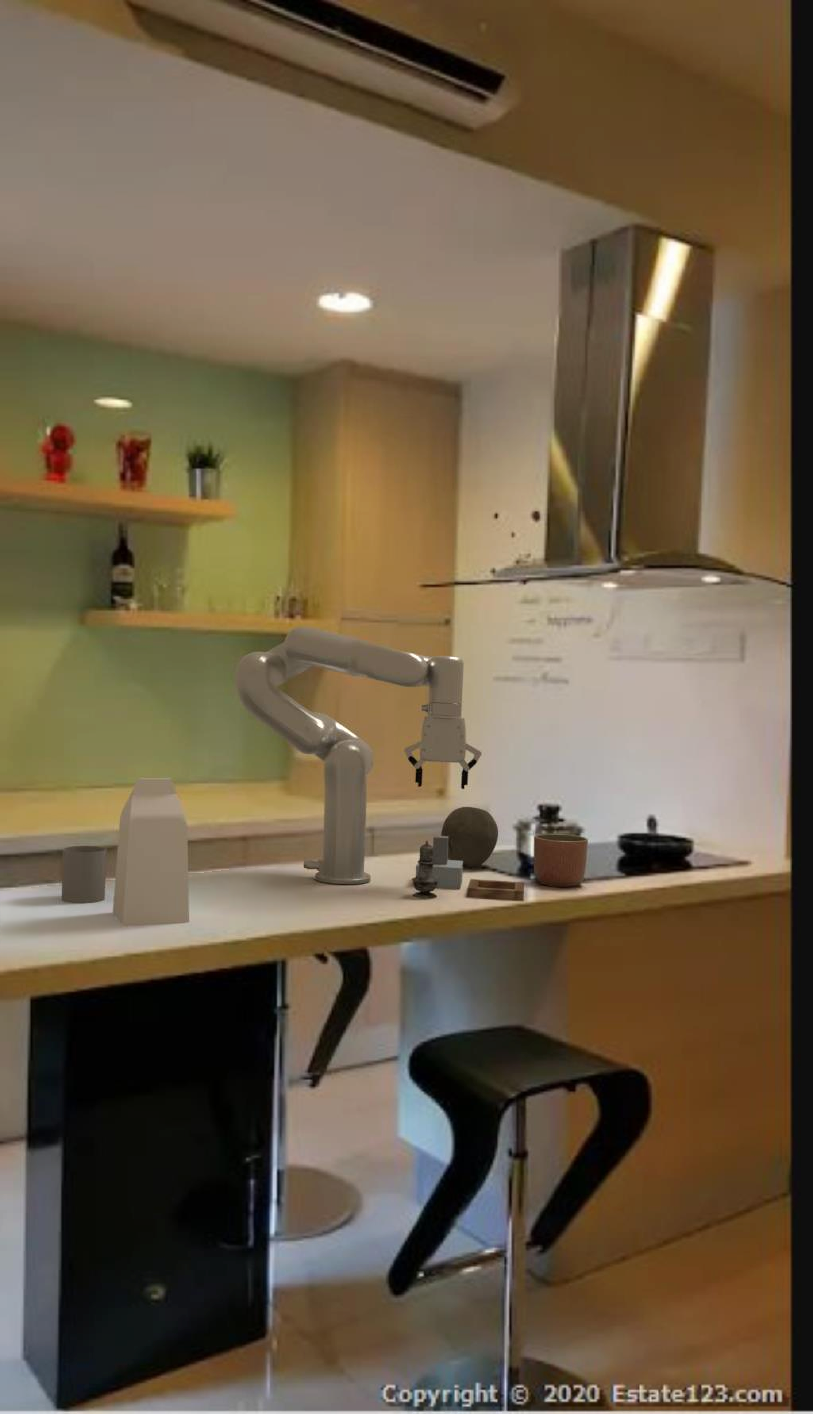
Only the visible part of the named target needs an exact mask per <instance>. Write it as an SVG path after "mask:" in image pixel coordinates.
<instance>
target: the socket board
mask: <svg viewBox="0 0 813 1414" xmlns="http://www.w3.org/2000/svg"><path fill="white" fill-rule="evenodd" d="M466 894H467V895H466V896H467V898H472V899H488V900H491V899H492V900H504V901H505V900H506V901H519V900H523V901H524V900H525V899H524V897H525V895H524V894H525V882H524V881H509V880H506V881H505V880H494V879H493V880H491V879H476V878H474V879H473V878H470V880H469V882H468V885H467V893H466ZM523 901H522V902H523Z"/></svg>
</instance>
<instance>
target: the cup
mask: <svg viewBox="0 0 813 1414" xmlns="http://www.w3.org/2000/svg"><path fill="white" fill-rule="evenodd" d="M106 871H107V848H106V847H103V846H97V845H96V846H95V845H75V846H67V847H64V848H63V849H62V874H61V880H62V881H61V901H62V902H63V903H64V902H65V903H70V904H82V905H83V904H94V903H99V902H100V903H101V902H103V901H105V899H106V878H107V877H106V876H107V875H106V874H107V873H106Z"/></svg>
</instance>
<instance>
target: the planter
mask: <svg viewBox="0 0 813 1414" xmlns="http://www.w3.org/2000/svg"><path fill="white" fill-rule="evenodd" d="M588 841H589V839H588V838H587V837H585V836H580V835H574V834H564V833H540V834H535V835H534V836H533V870H534V877H535V879H536V880H537V881H538V882H539V883H540V884H541V885H545V886H548V887H549V886H550V887H555V888H556V887H557V888H572V887H577V886H579V885H581V884H582V882H583V881H584V878H585V874H586V868H587V867H586V866H587V856H588V843H589V842H588Z"/></svg>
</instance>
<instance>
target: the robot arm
mask: <svg viewBox="0 0 813 1414" xmlns="http://www.w3.org/2000/svg"><path fill="white" fill-rule="evenodd" d="M311 667H315V668H319V669H324V670H326V671H331V672H336V673H340V674H344V675H348V676H352V677H362V678H366V679H370V680H374V681H379V682H383V683H388V684H393V685H395V686H401V687H404V688H417V687H428V702H427V703H426V704H421V712H426V713H427V716H423V722H422V725H421V733H420V741H417V742H415V743H413V744H412V745H409V746H407V747H405V748H404V753H405V755H406V757H407V760H408V762H410V764H411V765H412V766H413V767H414V768H415V778H414V779H415V780H414V781H415V784H416V783H417V787H418V788H420V787H422V786H423V768H422V766H423V764H424V763H425V762H436V763H437V762H438V763H439V762H440V763H458V764H459V765H460V766H461V768H462V771H461V777H460V778H461V783H460V789H462V790H465V786H468V782H469V781H468V780H469V771H470V770H471V769H472V768H473V767H475V765H476V764H477V763H478V761H479V760H480V757H481V756H482V751H481V750H479V749H478V748H475V747H473V746H471V745H470V744H468V743H467V730H466V721H465V718H464V717H462V709H463V708H462V706H463V705H462V704H463V688H464V686H463V685H464V661H463V659H462V657H460V656H453V655H436V656H435V655H434V656H427V655H423V654H418V653H414V652H407V651H402V650H399V649H394V648H390V647H385V646H381V645H377V644H373V643H370V642H367V641H365V640H364V639H360V638H358V637H354V636H348V635H346V634H345V635H344V634H339V633H335V632H330V631H327V630H322V629H318V628H314V627H313V628H312V627H309V626H296V627H294V628H292V629H291V630H290V631H288V633H287V634H286V636H285V639H284V641H283V642H282V643H280V644H278V645H276V646H275V647H273V648H271V649H270V650H268V651H253V652H250V653H248V654H246V655H244V656H243V657H242V658H241V659H240V661H239V663H238V664H237V667H236V671H235V678H234V680H235V681H234V685H235V690H236V692H237V693H236V694H237V696H238V698H239V700H240V702H241V704H242V705H243V706H244V708H245V709H246V710H247V711H248V712H249V713H250V714H252V716H253V717H255V719H257V720H258V721H260V722H261V723H262V724H264V725H265V726H267V727H268V728H269V729H270V730H271V731H273V732H274V733H275V734H277V735H278V736H279V737H281V738H282V739H283V740H285V741H286V742H287V743H288V744H290V745H291V746H292V747H294V748H295V749H296V750H297V751H299V752H300V753H302V754H305V755H315V757H317V758H319V759H320V760H322V761H323V762H324V763H323V780H324V806H323V807H324V808H323V811H324V813H323V814H324V815H323V837H322V838H323V839H322V842H323V843H322V857H321V858H320V859H319V858H318V859H317V860H312V859H304V860H303V868H304V869H307V870H316V871H317V872H316V873H315V874H314V879H315V880H316V881H319V882H321V883H326V884H332V885H333V884H334V885H358V884H365V883H369V882H370V881H371V874H369V873H367V872H365V855H366V853H365V851H366V827H367V826H366V825H367V800H368V799H367V796H368V795H367V794H368V793H367V775H368V774H369V773H370V772H371V771H372V769H373V767H374V762H375V756H374V752H373V750H372V748H371V747H370V746H369V744H368V743H367V742H365V741H364V740H363V739H361V738H360V736H357V735H356V734H355V733H354V732H352V731H351V730H350V729H348V728H347V727H345V726H344V725H342V724H341V723H340V722H338V721H337V720H335V719H334V718H332V717H331V716H329V715H327V714H325V713H322V712H319V711H318V712H313V711H310V710H309V709H307V708H306V707H304V706H303V705H301V704H300V703H298V702H297V701H296V700H295V699H294V698H293V697H291V696H289V695H288V694H286V693H285V692H283V691H282V690H281V689H279V688H278V686H279V687H280V686H281V685H283V684H284V683H286V682H288V681H290V680H291V679H293V678H295V677H297V676H298V675H300V674H302V673H303V672H306V671H307V670H308V669H310V668H311ZM417 749H419V759H418V760H417V759H416V758H415V757H414V755H413V753H412V752H413V751H416V750H417ZM467 751H468V752H470V753H471V754H473V757H472V759H471V760H470V761H469V762H466V753H467Z"/></svg>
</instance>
